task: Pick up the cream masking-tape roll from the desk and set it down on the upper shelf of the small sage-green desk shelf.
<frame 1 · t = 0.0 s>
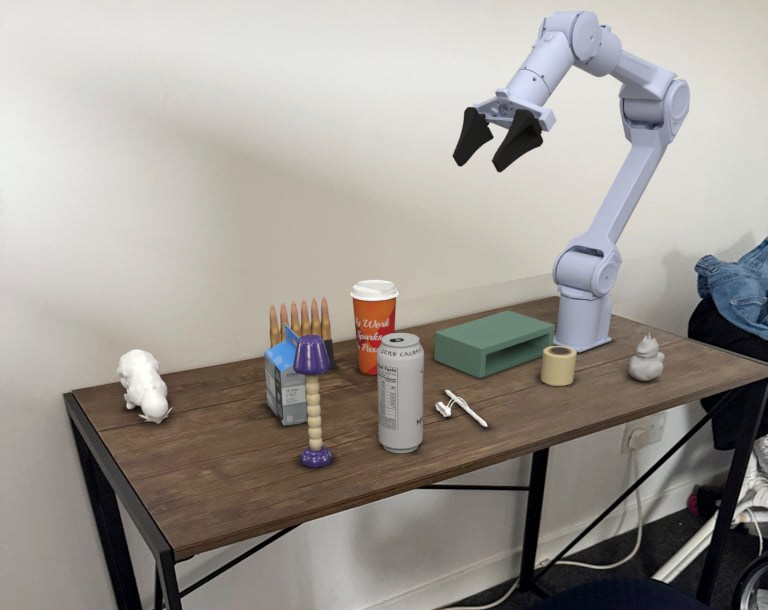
hand: (476, 164, 105), 32 cm above the table, tool tilted 50°, fingers open, 7 cm apart
ammunition clip: (303, 373, 127), on the table
picture light: (454, 412, 112), on the table
white animal figurine: (151, 414, 114), on the table
paper cup: (376, 369, 127), on the table
tape roll: (556, 379, 122), on the table
toy lamp: (318, 460, 100), on the table
desk shelf: (493, 356, 131), on the table
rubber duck: (644, 379, 122), on the table
energy drink can: (400, 446, 104), on the table
label tape box: (287, 414, 113), on the table
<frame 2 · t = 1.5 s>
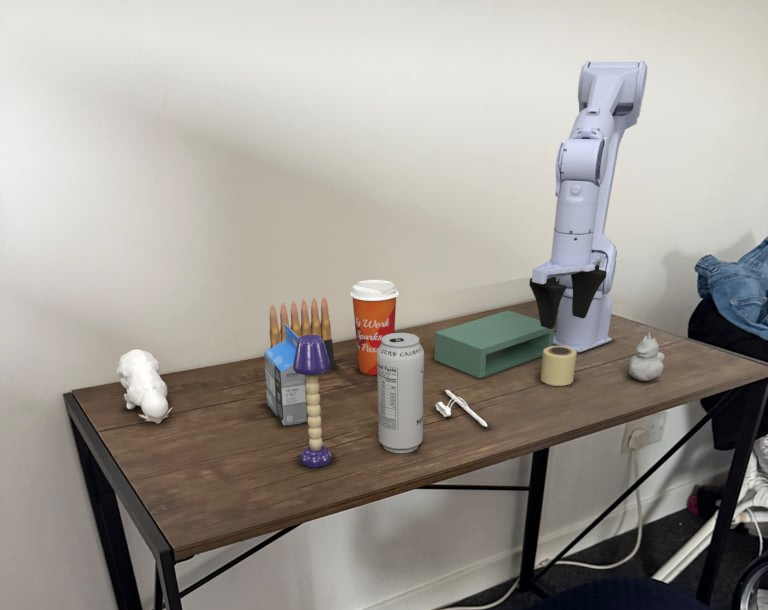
hand: (563, 321, 117), 10 cm above the table, tool pointing down, fingers open, 7 cm apart
nothing on the table moved.
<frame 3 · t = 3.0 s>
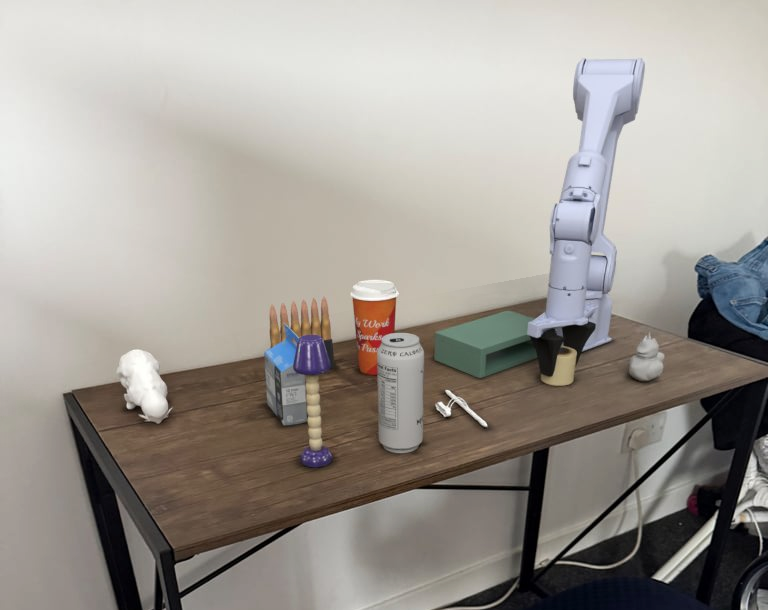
hand: (557, 370, 121), 2 cm above the table, tool pointing down, fingers closed on tape roll, 5 cm apart
tape roll: (556, 379, 122), on the table, touching gripper
everything else where it was.
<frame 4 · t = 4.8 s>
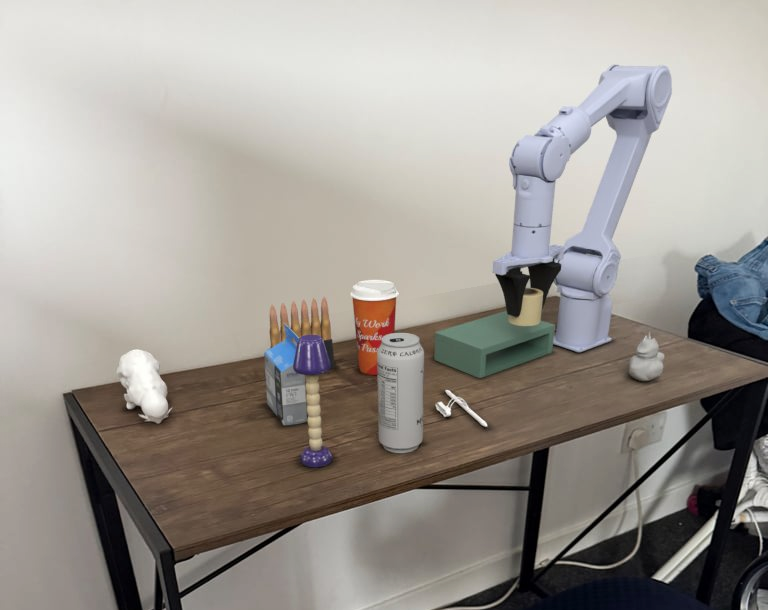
hand: (524, 311, 122), 9 cm above the table, tool pointing down, fingers closed on tape roll, 5 cm apart
tape roll: (524, 321, 123), point 8 cm above the table, touching gripper
everything else where it was.
when the fingers open (7 cm above the table, at t = 6.7 s): tape roll stays where it is, resting on desk shelf.
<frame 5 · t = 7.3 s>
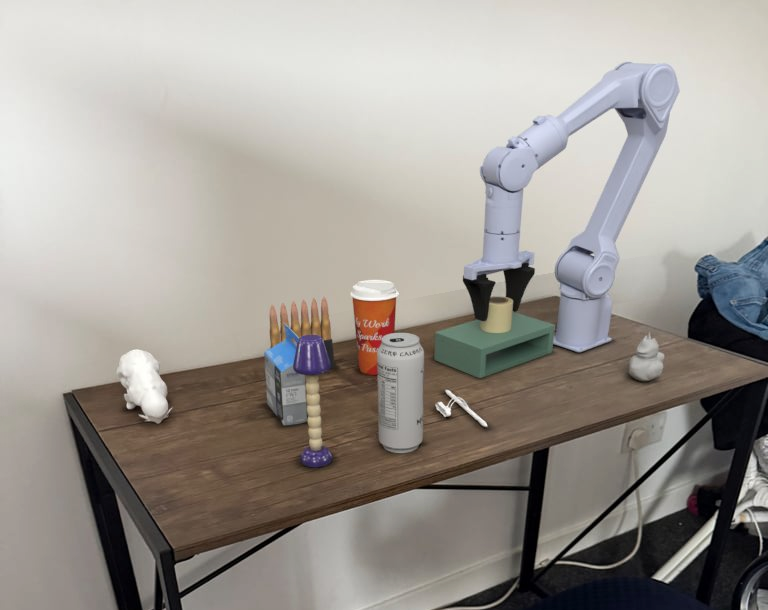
hand: (496, 314, 127), 7 cm above the table, tool pointing down, fingers open, 7 cm apart
tape roll: (495, 328, 129), point 5 cm above the table, touching desk shelf
everything else where it was.
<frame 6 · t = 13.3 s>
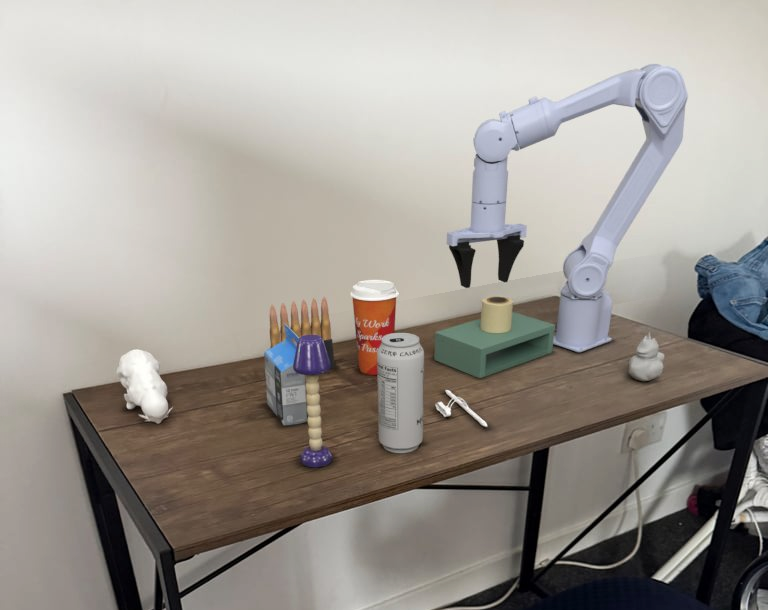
hand: (484, 283, 132), 10 cm above the table, tool pointing down, fingers open, 7 cm apart
nothing on the table moved.
at the end: tape roll inside the target area on the desk shelf (0.0 cm from its centre), point 5.0 cm above the desk shelf's base; tape roll tilted 0° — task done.
